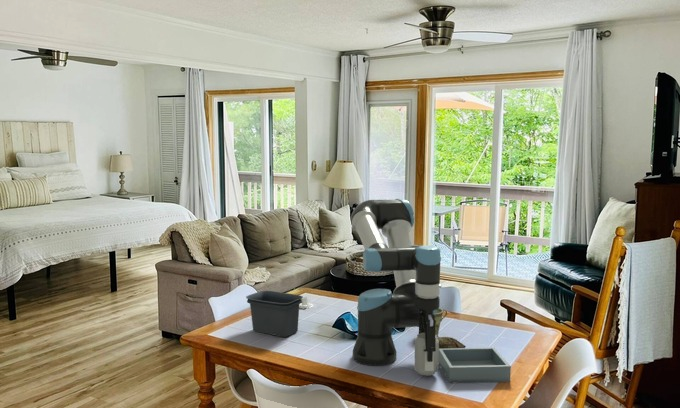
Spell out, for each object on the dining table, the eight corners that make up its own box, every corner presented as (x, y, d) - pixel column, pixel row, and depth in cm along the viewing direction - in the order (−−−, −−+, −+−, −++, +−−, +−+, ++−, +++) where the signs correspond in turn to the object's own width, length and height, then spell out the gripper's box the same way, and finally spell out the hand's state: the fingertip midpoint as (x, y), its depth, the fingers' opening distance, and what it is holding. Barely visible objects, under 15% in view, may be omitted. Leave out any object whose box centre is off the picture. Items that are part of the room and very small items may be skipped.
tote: (449, 383, 171) (449, 367, 170) (438, 362, 187) (438, 348, 186) (510, 381, 172) (510, 366, 171) (493, 361, 188) (494, 347, 187)
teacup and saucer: (305, 310, 248) (305, 301, 248) (291, 307, 252) (291, 299, 252) (316, 306, 255) (316, 297, 255) (303, 303, 260) (303, 294, 259)
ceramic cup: (425, 341, 208) (425, 315, 206) (411, 333, 217) (411, 308, 216) (454, 336, 213) (454, 311, 212) (439, 328, 222) (439, 304, 221)
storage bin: (243, 332, 219) (242, 296, 217) (267, 321, 232) (266, 287, 231) (286, 341, 208) (285, 304, 206) (309, 329, 221) (309, 294, 220)
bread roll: (423, 348, 201) (423, 335, 200) (446, 341, 208) (447, 328, 207) (449, 359, 190) (450, 345, 190) (473, 351, 198) (474, 338, 197)
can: (437, 377, 172) (438, 340, 171) (413, 375, 174) (414, 338, 172) (438, 367, 180) (439, 332, 178) (415, 365, 181) (415, 330, 180)
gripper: (446, 304, 164) (445, 378, 167) (432, 286, 184) (431, 352, 187) (421, 305, 164) (420, 379, 166) (410, 286, 184) (409, 353, 186)
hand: (426, 365), depth 176 cm, fingers closed on can, 7 cm apart
